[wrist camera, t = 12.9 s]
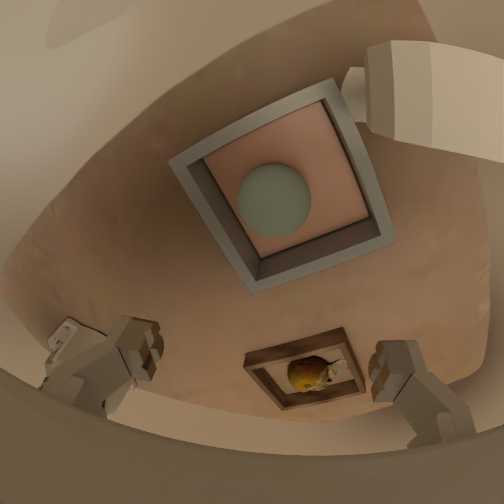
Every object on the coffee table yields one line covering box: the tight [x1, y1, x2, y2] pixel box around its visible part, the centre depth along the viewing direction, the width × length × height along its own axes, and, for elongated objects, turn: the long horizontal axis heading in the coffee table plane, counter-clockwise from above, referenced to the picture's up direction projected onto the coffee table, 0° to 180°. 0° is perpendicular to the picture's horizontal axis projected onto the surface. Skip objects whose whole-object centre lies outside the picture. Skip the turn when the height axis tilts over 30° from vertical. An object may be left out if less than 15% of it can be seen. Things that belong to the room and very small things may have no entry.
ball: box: [237, 164, 311, 238], centre depth 24 cm, size 6×6×6 cm
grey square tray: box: [167, 77, 397, 295], centre depth 24 cm, size 14×14×4 cm
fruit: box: [287, 356, 349, 392], centre depth 37 cm, size 8×8×4 cm
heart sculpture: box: [341, 40, 504, 163], centre depth 12 cm, size 16×5×18 cm, turn 95°
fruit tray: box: [243, 327, 366, 411], centre depth 37 cm, size 14×13×2 cm
